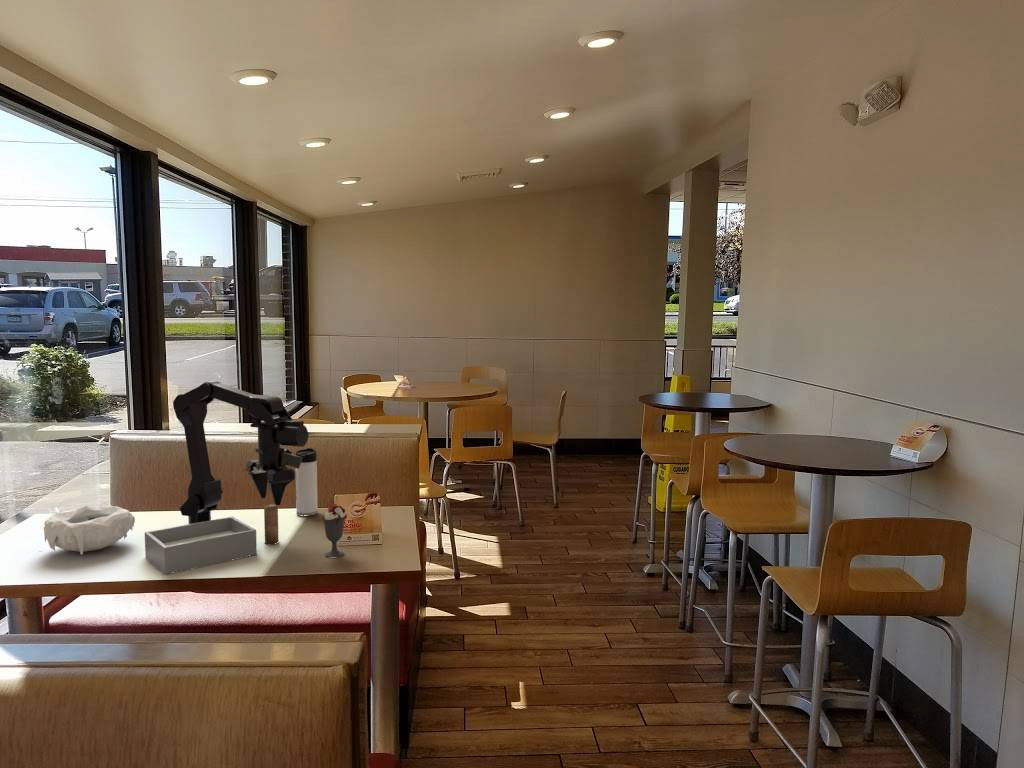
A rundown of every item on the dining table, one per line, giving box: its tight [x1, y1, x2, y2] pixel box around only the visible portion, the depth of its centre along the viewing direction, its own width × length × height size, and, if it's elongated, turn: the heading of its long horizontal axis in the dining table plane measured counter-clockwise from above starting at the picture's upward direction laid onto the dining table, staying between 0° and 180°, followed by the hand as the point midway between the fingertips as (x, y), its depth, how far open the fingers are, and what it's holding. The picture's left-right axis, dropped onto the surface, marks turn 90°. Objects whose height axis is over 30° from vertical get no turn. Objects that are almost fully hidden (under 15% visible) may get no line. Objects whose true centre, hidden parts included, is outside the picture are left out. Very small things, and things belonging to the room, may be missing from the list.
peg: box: [263, 504, 280, 545], centre depth 193 cm, size 4×4×10 cm
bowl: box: [43, 504, 136, 556], centre depth 187 cm, size 21×20×10 cm
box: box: [144, 516, 258, 575], centre depth 182 cm, size 16×22×6 cm
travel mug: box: [295, 447, 319, 516], centre depth 221 cm, size 6×7×20 cm
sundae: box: [320, 499, 348, 558], centre depth 184 cm, size 7×7×15 cm
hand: (270, 501), depth 193 cm, fingers open, 9 cm apart
